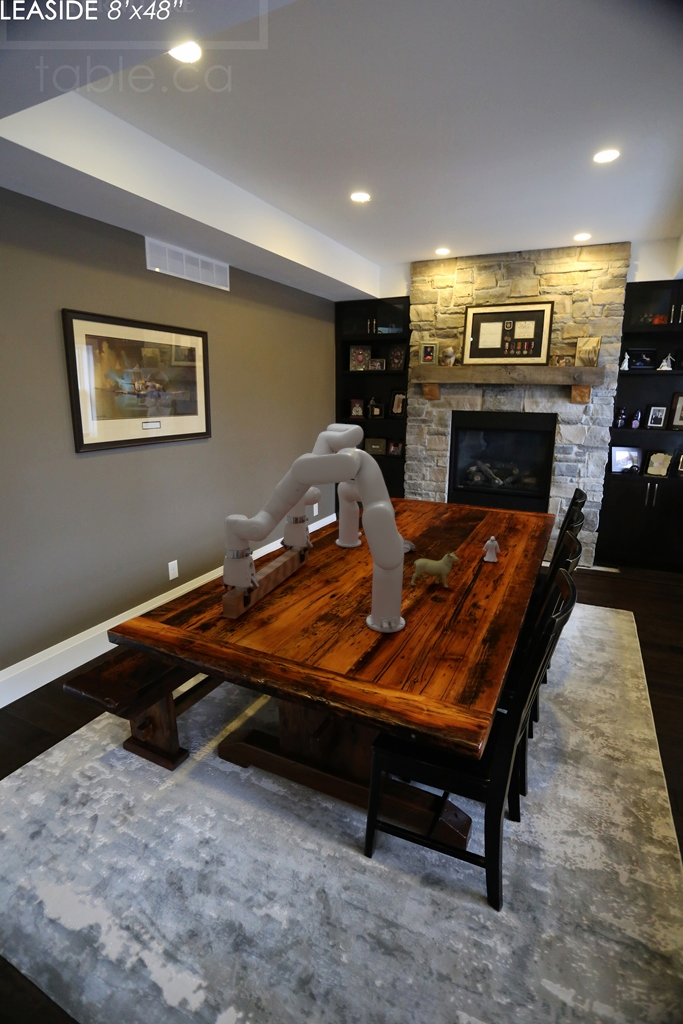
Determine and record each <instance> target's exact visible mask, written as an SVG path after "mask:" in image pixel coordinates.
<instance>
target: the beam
mask: <svg viewBox="0 0 683 1024" xmlns="http://www.w3.org/2000/svg"><path fill="white" fill-rule="evenodd" d="M305 547H306V548H307V547H308V545H306V546H305ZM300 554H301V550H300V547H296V546H292V548H291V549H290V550H288V551H285V552H284V553H283V554H281V555H280V556H279V557H277V558H275V559H274V560H272V561H271V562H270V563H268V564H266V566H263V568H261V569H260V570H258V571H257V572H255V574H256V581H257V583H258V584H259V587H258V588H257V589H256V590H254V591H253V592H252V593H251V603H250V604H249V605H248V606H247V607H244V595H245V593H244V589H243V587H238V586H235V588H233V589H232V590H231V591H229V592H226V593H224V594H223V595H222V596H221V598H222V599H221V600H222V617H223V618H227V619H233V620H236V619H238V617H240V616H241V615H243V614H244V613H245V612H247V610H249V609H251V608H252V607H253V606H254V605H255V604H256V603H257V602H259V601H260V600H261V599H262V598H264V597H265V596H266V595H267V594H268V593H270V592H271V591H273V590H274V589H275V588H276V587H277V586H279V585H280V584H281V583H282V582H284V581H285V580H286V579H287V578H289V577H290V576H291V575H292V574H293V573H294V572H296V571H297V570H298V569H300V568H301V567H302V566H304V565H305V564H306V563H307V562H309V550H308V551H307V552H305V561H304V562H303V563H300ZM250 585H251V588H252V587H253V585H252V584H250Z"/></svg>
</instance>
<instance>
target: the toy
mask: <svg viewBox="0 0 683 1024" xmlns="http://www.w3.org/2000/svg"><path fill="white" fill-rule="evenodd" d="M456 554H458V551H453V552H451V553H450V552H449V553H446V554H445V555H444V556H443V558H441V559H440V560H433V559H428V558H419V559H416V560H415V561H414V562H413V566H414V567H413V569H415V573H412V577H411V582H410V585H411V586H412V587H415V586H416V583H415V580H416V579H417V578H418V577H419V578H420V579H421V580H422V582H423V583H426V582H427V580H426V578H425V576H424V574H425V575H427V576H430V577H435V576H436V578H435V581H434V582H435V585H440V581H439V580H440V579H441V581H442V583H443V587H444V588H445V589H446V590H448V589H450V587H449V586H448V584H447V577H448V576H449V574H450V573H451V570H452V567H453V564H454V562H455V563H459V562H460V558H459V557H457V556H456Z"/></svg>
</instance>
